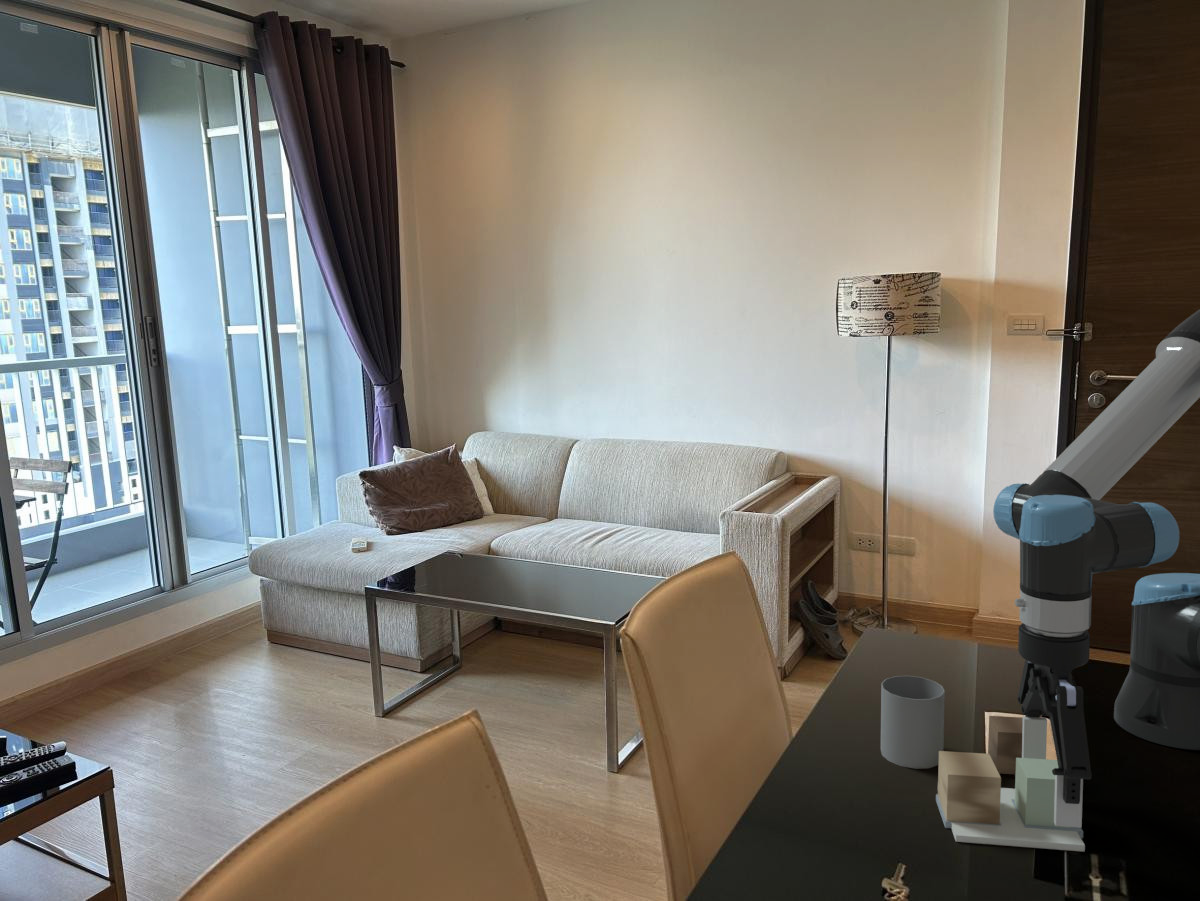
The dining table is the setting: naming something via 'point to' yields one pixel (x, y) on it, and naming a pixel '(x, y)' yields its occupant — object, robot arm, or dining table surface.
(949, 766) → the oak base
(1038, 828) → the board
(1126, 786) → the dining table surface
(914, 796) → the dining table surface
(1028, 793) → the sage block
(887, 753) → the cup
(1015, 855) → the dining table surface
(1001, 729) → the walnut block
